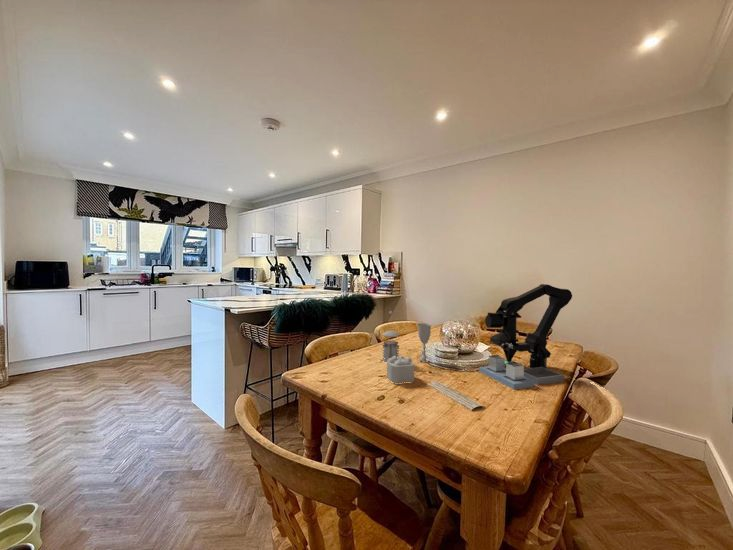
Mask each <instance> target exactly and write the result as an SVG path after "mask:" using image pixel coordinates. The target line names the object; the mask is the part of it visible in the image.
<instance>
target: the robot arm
mask: <svg viewBox="0 0 733 550" xmlns="http://www.w3.org/2000/svg"><path fill="white" fill-rule="evenodd" d="M544 295H547V296H548V306H547V308H546V310H545V312H544V313H543V315H542V317H541V320H540V321H539V324H538V326H537V328H536V330H535V331H534V332H532V333H531V332H528V333H527V336H526V338H525V339H524V342H523V341H520V342H519V339H518V338H517V333H518V334H519V330H518V329H517V320H518V319H521V318H522V316H521V315H520V314H519V313H518V312H519V311H521V310H522V309H523V308H524V306H526V305H527V304H529V303H530V302H531V303H532V302H533V301H534V300H536V299H539V298H540V297H542V296H544ZM572 299H573V293H572V291H571V290H570V289H568V288H559V287H556V286H552V285H550V284H545V283H541V284H539V285H538V286H536V287H534V288H532V289H530V290H528V291H526V292H524V293H522V294H520V295H518V296H514V297H509V298H505V299H503V300H502V301H501V304H500V306H499V307H498V308H497V309H496V310H495V312H487V315H486V316H485V318H484V324H485V326H486V328H488V329H493V328H494V329H497V328H498V329H500V330H499V332H498V333H496V334H494V335H491V336H490V338H489V339H490V340H489V342H490V343H492V344H493V345H495V346H498V347H500V348H501V349H502V350H503V352H504V356H505V358H506V359H505V360H507V361H508V362H511V360H512V359H513V358H514V357H515V354H516V353H517V352H520V353H521V352H527V353H528V354H530V358H529V365H527V367H529V368H536V367H544V368H546V369H549V370H550V368H549V367H548V366H547V362H548V360H547V359H548V358H550V357H551V354H552V353H551V351H549V350H548V348H547V344H548V342H547V337H548V335H549V332H550V330H552V327H553V325H554V323H555V321H556V319H557V317H558V315H559V313H560V312H561V310H562V309H563V308H565V307H566V306H567V305H568V304H569V303H570V301H571V300H572ZM512 361H513V360H512Z"/></svg>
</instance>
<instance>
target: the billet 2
mask: <svg viewBox="0 0 733 550" xmlns="http://www.w3.org/2000/svg"><path fill="white" fill-rule="evenodd" d="M518 363H519V362H518V361H515V362H510V363H506V378H507V379H510V380H512V381H514V382H515V381H523V379H524V369H525V366H524V365H523V364H522V363H520V364H518ZM521 364H522V365H521Z"/></svg>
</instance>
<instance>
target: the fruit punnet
mask: <svg viewBox="0 0 733 550" xmlns="http://www.w3.org/2000/svg"><path fill="white" fill-rule="evenodd" d="M387 377H388V379H389V380H390V381H392V382H394V383H402V382H403V383H404V382H413V381H414V382H415V363H414V362H413V361H412V359H411V357H409V356H407V357H404V356H403V355H401V354H400V355H399V356H398V357H396V356H393V357H391V358H389V359H388V360H387V365H386V378H387ZM388 379H387V380H388ZM389 380H388V381H389ZM390 381H389V382H390ZM414 382H413V383H414Z"/></svg>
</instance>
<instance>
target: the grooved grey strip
mask: <svg viewBox="0 0 733 550" xmlns="http://www.w3.org/2000/svg"><path fill="white" fill-rule="evenodd" d="M427 384H428V385H429V386H431V387H433V388H434V389H433V388H432V389H433V390H435V389H436V390H438V391H439V392H438V391H437V392H438V393H440V392H441V393H443V394H444V395H443V394H442V395H443V396H445V395H446V396H448V397H449V398H448V397H447V398H448V399H450V398H451V399H452V401H453V400H454V401H453V402H455V401H456V402H457V404H458V403H459V404H458V405H460V404H461V405H460V406H462V407H463V406H464V407H463V408H465V407H466V408H465V409H466V410H468V409H469V411H470V410H471V411H472V410H474V409H475V408H477V407H481V406H482V407H481V408H483V407H485V408H486V406H485V405H483V404H481V403H479V402H477V401H476V400H474V399H472V398H470V397H468V396H466V394H463V393H461V392H459V391H457V390H455V389H454V388H451V387H450V386H448V385H447V384H445V383H443V384H442V382H440V381H436V380H433V381H430V382H429V383H427ZM428 385H427V386H428ZM429 386H428V387H429ZM431 387H430V388H431ZM436 390H435V391H436ZM441 393H440V394H441ZM446 396H445V397H446ZM451 399H450V400H451ZM456 402H455V403H456Z"/></svg>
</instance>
